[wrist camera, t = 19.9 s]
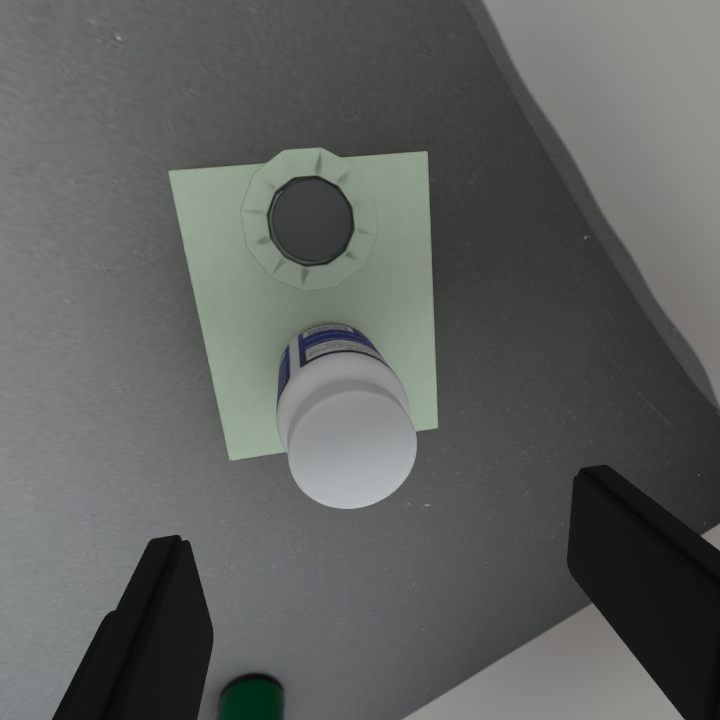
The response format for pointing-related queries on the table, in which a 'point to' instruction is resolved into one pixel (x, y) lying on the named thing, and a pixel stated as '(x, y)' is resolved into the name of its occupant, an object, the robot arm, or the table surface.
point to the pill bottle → (343, 417)
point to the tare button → (311, 220)
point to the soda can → (252, 701)
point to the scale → (307, 279)
